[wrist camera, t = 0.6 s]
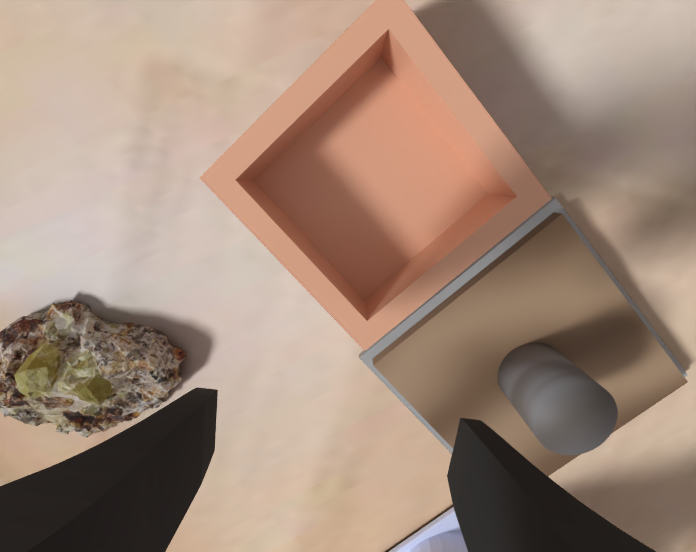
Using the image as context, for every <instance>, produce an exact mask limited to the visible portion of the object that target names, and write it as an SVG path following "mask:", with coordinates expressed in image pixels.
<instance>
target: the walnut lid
mask: <svg viewBox="0 0 696 552" xmlns="http://www.w3.org/2000/svg"><path fill="white" fill-rule="evenodd" d="M372 361H373V366H374V367H375V368H376V369H377V370H378V371H379V372H380V373H381V374H382V375H383V376H384V377H385V378H386V379H387V380H388V381H389V383H390V384H391V385H392V386H393V387H394V388H395V389H396V390H397V391H398V392H399V393H400V394H401V395H402V396H403V397H404V398H405V399H406V400H407V401H408V402H409V403H410V404H411V405H412V406H413V408H414V409H415V410H416V411H417V412H418V413H419V414H420V415H421V416H422V417H423V418H424V419H425V420H426V421H427V422H428V423H429V424H430V425H431V426H432V427H433V428H434V429H435V430H436V432H437V433H438V434H439V435H440V436H441V437H442V438H443V439H444V440H445V441H446V442H447V443H448V444H449V445H450V446H451V447H452V448H454V444H455V439H456V435H457V430H458V426H459V421H460V418H467V419H475V420H481V421H482V422H484V423H485V424H486V425H488V426H489V427H490V428H491V429H492V430H494V431H495V432H496V433H497V434H498V435H500V436H501V437H502V438H503V439H504V440H505V441H506V442H508V443H509V444H510V445H511V446H512V447H513V448H514V449H516V450H517V451H518V452H519V453H520V454H521V455H523V456H524V457H525V458H526V459H527V460H528V461H530V462H531V463H532V464H533V465H534V466H535V467H537V468H538V469H539V470H540V471H541V472H543V473H544V474H545V475H546V476H549V475H551V474H552V473H554V472H555V471H556V470H558V469H559V468H561V467H562V466H564V465H565V464H567V463H568V462H570V461H571V460H573V459H574V458H576V457H577V456H579V455H580V454H582V453H585V452H588V451H591V450H593V449H595V448H596V447H598V446H599V445H601V444H602V443H603V442H604V441H605V440H606V439H607V438H608V437H609V436H610V434H611V433H613V432H614V431H616V430H617V429H619V428H620V427H622V426H623V425H625V424H626V423H628V422H629V421H631V420H632V419H634V418H635V417H637V416H638V415H640V414H641V413H643V412H644V411H646V410H647V409H648V408H650V407H651V406H653V405H654V404H656V403H657V402H659V401H660V400H662V399H663V398H665V397H666V396H668V395H669V394H671V393H672V392H674V391H675V390H677V389H678V388H680V387H681V386H683V385H684V384H686V383H687V382H688V381H687V380H686V379H685V377H684V376H683V375H682V373H681V372H680V371H679V369H678V368H677V367H676V365H675V364H674V363H673V361H672V360H671V359H670V357H669V356H668V355H667V353H666V352H665V351H664V349H663V348H662V347H661V345H660V344H659V343H658V341H657V340H656V339H655V337H654V336H653V334H652V333H651V332H650V330H649V329H648V328H647V326H646V325H645V324H644V322H643V321H642V320H641V318H640V317H639V316H638V314H637V313H636V312H635V310H634V309H633V308H632V306H631V305H630V304H629V302H628V301H627V300H626V298H625V297H624V296H623V294H622V293H621V292H620V290H619V289H618V288H617V286H616V285H615V284H614V282H613V281H612V280H611V278H610V277H609V276H608V274H607V273H606V272H605V270H604V269H603V268H602V266H601V265H600V264H599V262H598V261H597V260H596V258H595V257H594V255H593V254H592V253H591V251H590V250H589V249H588V247H587V246H586V245H585V243H584V242H583V241H582V239H581V238H580V237H579V235H578V234H577V233H576V231H575V230H574V229H573V227H572V226H571V225H570V223H569V222H568V221H567V219H566V218H565V217H564V215H563V214H561V213H554V212H553V213H552V214H551V215H550V216H548V217H547V218H546V219H545V220H543V221H542V222H541V223H540V224H538V225H537V226H536V227H535V228H534V229H532V230H531V231H530V232H529V233H527V234H526V235H525V236H524V237H522V238H521V239H520V240H519V241H517V242H516V243H515V244H514V245H512V246H511V247H510V248H509V249H507V250H506V251H505V252H504V253H503V254H501V255H500V256H499V257H498V258H496V259H495V260H494V261H493V262H491V263H490V264H489V265H488V266H486V267H485V268H484V269H483V270H481V271H480V272H479V273H478V274H477V275H475V276H474V277H473V278H472V279H470V280H469V281H468V282H467V283H465V284H464V285H463V286H462V287H460V288H459V289H458V290H457V291H455V292H454V293H453V294H452V295H451V296H449V297H448V298H447V299H446V300H444V301H443V302H442V303H441V304H439V305H438V306H437V307H436V308H434V309H433V310H432V311H431V312H429V313H428V314H427V315H426V316H424V317H423V318H422V319H421V320H420V321H418V322H417V323H416V324H415V325H413V326H412V327H411V328H410V329H408V330H407V331H406V332H405V333H403V334H402V335H401V336H400V337H398V338H397V339H396V340H395V341H394V342H392V343H391V344H390V345H389V346H387V347H386V348H385V349H384V350H382V351H381V352H380V353H379V354H377V355H376V356H375V357H374V358H372Z"/></svg>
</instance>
